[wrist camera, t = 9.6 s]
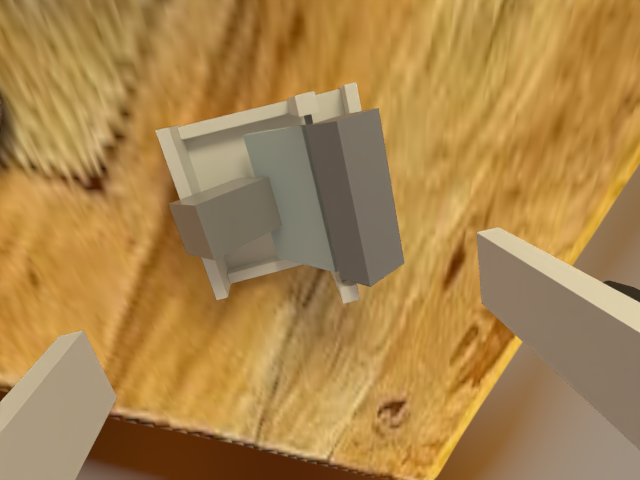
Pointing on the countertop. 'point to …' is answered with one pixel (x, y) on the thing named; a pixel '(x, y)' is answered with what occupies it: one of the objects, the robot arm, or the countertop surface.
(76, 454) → the robot arm
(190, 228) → the gray rectangular block
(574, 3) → the countertop surface
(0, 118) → the rock
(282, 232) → the trapdoor
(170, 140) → the frame
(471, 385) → the countertop surface
